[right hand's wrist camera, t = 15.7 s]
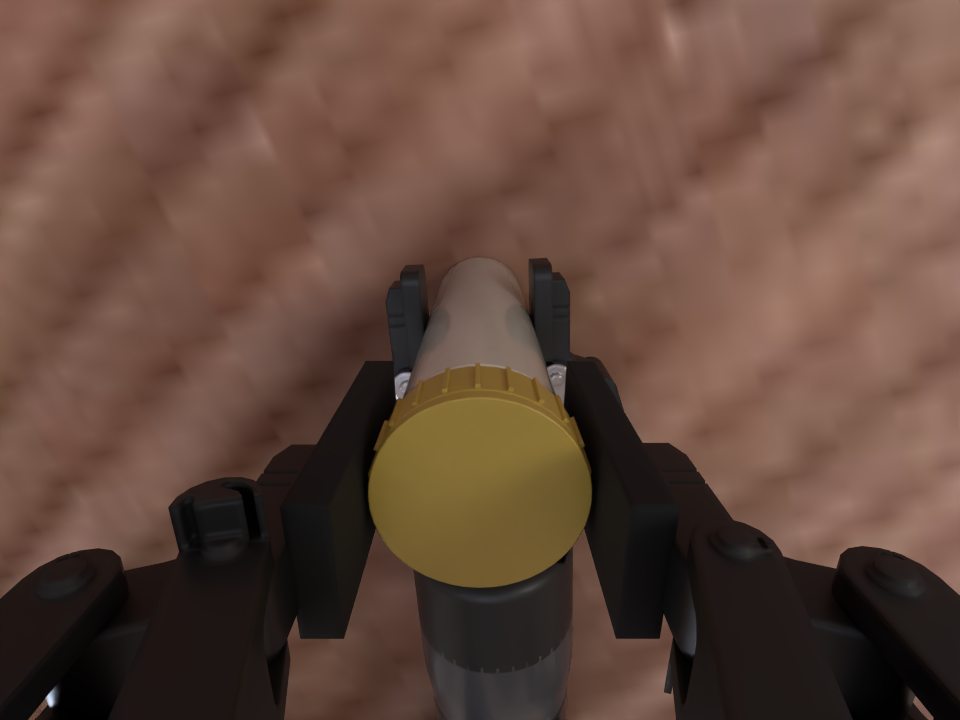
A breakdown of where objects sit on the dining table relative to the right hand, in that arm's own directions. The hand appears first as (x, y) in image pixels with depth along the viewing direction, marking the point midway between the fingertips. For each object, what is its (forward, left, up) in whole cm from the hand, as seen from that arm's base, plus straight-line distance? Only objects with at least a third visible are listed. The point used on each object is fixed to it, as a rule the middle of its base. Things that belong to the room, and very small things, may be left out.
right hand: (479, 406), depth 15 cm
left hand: (0, +3, -7) cm, 7 cm away
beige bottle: (0, 0, -13) cm, 13 cm away
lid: (0, 0, +4) cm, 4 cm away
